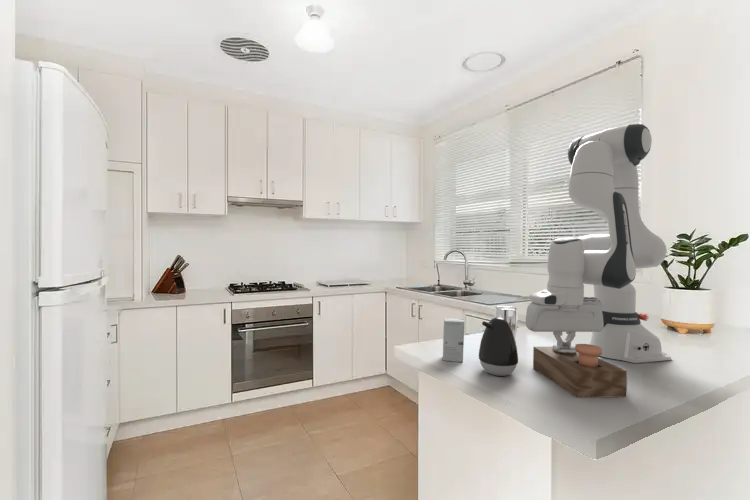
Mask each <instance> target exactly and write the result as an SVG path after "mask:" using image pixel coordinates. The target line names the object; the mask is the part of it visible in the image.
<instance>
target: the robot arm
mask: <svg viewBox="0 0 750 500" xmlns="http://www.w3.org/2000/svg"><path fill="white" fill-rule="evenodd" d="M652 143H653V141H652V135H651V132H650V129H649V128H648V127H647V126H646V125H644V124H639V123H634V124H628V125H627V126H625V125H624V126H619V127H618V126H617V127H611V128H607V129H603V130H601V131H597V132H594V133H590V134H588V135H582V136H579V137H578V138H575V139H573V140H572V142H570V144H569V146H568V149H567V159H568V162H569V164H570V165H571V168H570V174H569V181H568V196H569V198H570V199H571V201H572V202H573V203H574V204H576V205H577V206H578V207H580V208H581V209H582V208H583V209H585V210H587V211H589V212H590V211H591V212H594V213H596V214H597V216H598V218H599V219H601V220H602V221H604V222H607V225H608V233H593V234H587V235H586V234H585V235H583V236H582V235H581V236H579V237H575V236H573V237H571V236H569V237H568V236H567V237H557V238H555V239H553V240H552V241H551V242H550V245H549V250H548V257H547V272H548V281H547V286H546V288H544V289H542V290H539V291H537V292H533V293H530V294H529V296H528V298H529V299H528V300H529V301H530V303H529V304H528V305H527V308H526V314H525V327H526V328H527V329H528V330H529V331H530V332H533V333H538V332H540V333H551V332H552V334H553V336H554V338H555V340H556V345H557V347H559V348H571V346H572V342H573V341H574V338H575V337H576V333H585V332H586V333H589V332H591V333H592V335H591V338H590V343H589V344H590V345H595V346H598V347H601V348H602V354H601V355H598V357H603V358H608V359H611V360H612V359H613V360H620V361H623V362H624V361H625V362H627V363H628V362H629V363H631V364H641V363H652V362H653V363H654V362H661V361H662V362H663V361H671V360H672V357H671V355H670V354H669V353H665V352H664V351H663V350H662V343H661V340H660V338H659V337H658V336H657V335H656V334H655V333H653V332H652V331H650V330H649V329H648V328H646V327H645V326H644V325H643V324H641V320H642V321H646V322H647V321H648V320H649V315H647V314H646V313H638V312H637V311H636V305H637V303H636V301H637V295H636V294H637V290H636V288H635V286H634V285H633V284H632V283H633V281H635V279H636V274H637V270H639V269H640V270H641V269H649V268H650V269H651V268H657V267H658V266H660V265H661V264H662V263H663V262H664V260H665V259H666V258H667V257H666V256H667V253H668V252H667V246H666V243H665V241H664V240H663V239H662V238H661V237H660V236H658V235H657V234H655V233H654V232H652V231H651V230H650V229H649V228H648V227H647V226H646V225H645V223H644V221H643V219H642V218H641V214H640V206H639V175H638V168H637V166H638V165H639V164H640V163H641V161H642V160H644V159H645V158H646V157H647V155H648V154H649V152H650V151H651V147H652ZM584 284H585V285H591V286H593V292H594V293H593V294H594V296H592V297H590V296H585V285H584ZM563 333H565V334H566V337H565V339H562V336H563Z"/></svg>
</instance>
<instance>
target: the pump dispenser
mask: <svg viewBox="0 0 750 500" xmlns="http://www.w3.org/2000/svg"><path fill="white" fill-rule="evenodd" d="M481 325H482V326H484V327H485V328H484V330H483V333H482V336H481V340H480V343H479V344H480V345H479V349H478V359H479V362H480V365H481V368H482V369H483V370H484V371H485V372H486V373H488V374H490V375H491V376H492V375H493V376H497V377H506V376H509V375H511V374H512V373H514V372H515V370H516V368H517V364H518V363H519V352H518V346H517V343H516V337H515V338H514V335H513V332H512V329H511V327H510V325H509V323H508V322H507V321H506V320H505V319H503V318H500V317H496V318H494V317H492V318H491V319H490V320H489V321H488V322H487V321H483V320H482V322H481Z"/></svg>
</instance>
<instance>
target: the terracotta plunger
mask: <svg viewBox="0 0 750 500" xmlns="http://www.w3.org/2000/svg"><path fill="white" fill-rule="evenodd" d="M574 347H575V351H576V352H579V364H580V365H582V366H583V367H598V358H599V355H601V354H602V348H601V347H598V346H595V345H590V343H577V344H575V345H574Z"/></svg>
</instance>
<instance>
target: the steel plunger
mask: <svg viewBox="0 0 750 500" xmlns="http://www.w3.org/2000/svg"><path fill="white" fill-rule="evenodd" d="M552 347H553V351H554V352H556V353H559V354H564V355H575V354H576V351H575V348H574V347H575V346H574V347H572V345H571V348H559V347H557V344H553V345H552Z"/></svg>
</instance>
